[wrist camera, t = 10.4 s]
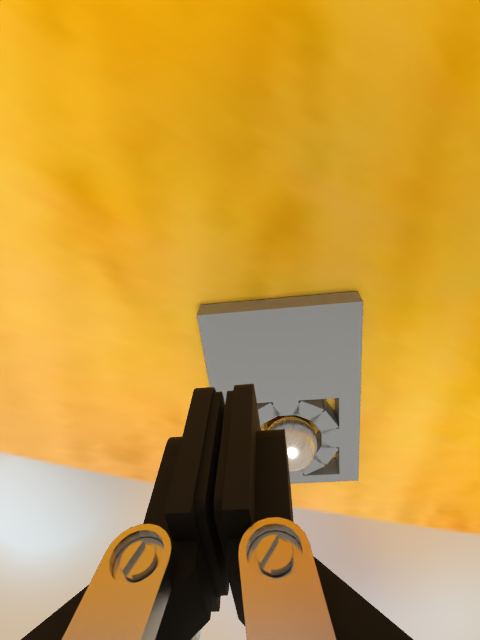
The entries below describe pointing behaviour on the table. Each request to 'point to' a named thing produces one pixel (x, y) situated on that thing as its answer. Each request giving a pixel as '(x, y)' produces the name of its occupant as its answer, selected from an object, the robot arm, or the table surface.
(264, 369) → the hole board
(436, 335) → the table surface
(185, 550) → the robot arm
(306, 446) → the steel ball
